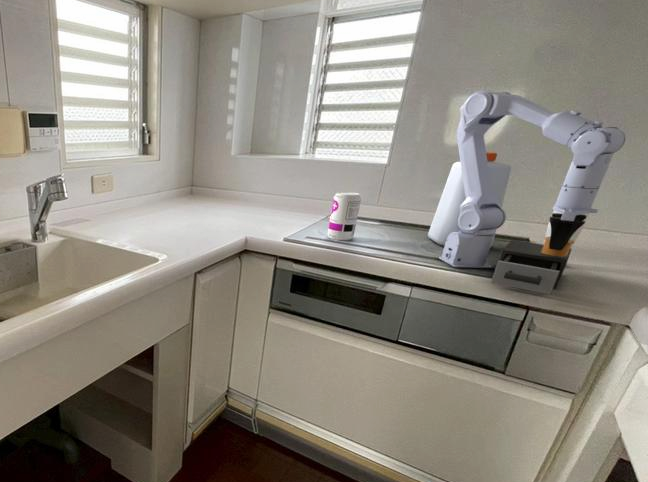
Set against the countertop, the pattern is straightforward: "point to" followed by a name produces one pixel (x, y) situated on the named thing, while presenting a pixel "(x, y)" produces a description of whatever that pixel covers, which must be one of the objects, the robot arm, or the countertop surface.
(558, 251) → the cylinder
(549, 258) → the black drawer unit
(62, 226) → the countertop surface
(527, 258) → the pod drawer
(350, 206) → the supplement can
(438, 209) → the plastic bottle
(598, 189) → the robot arm
